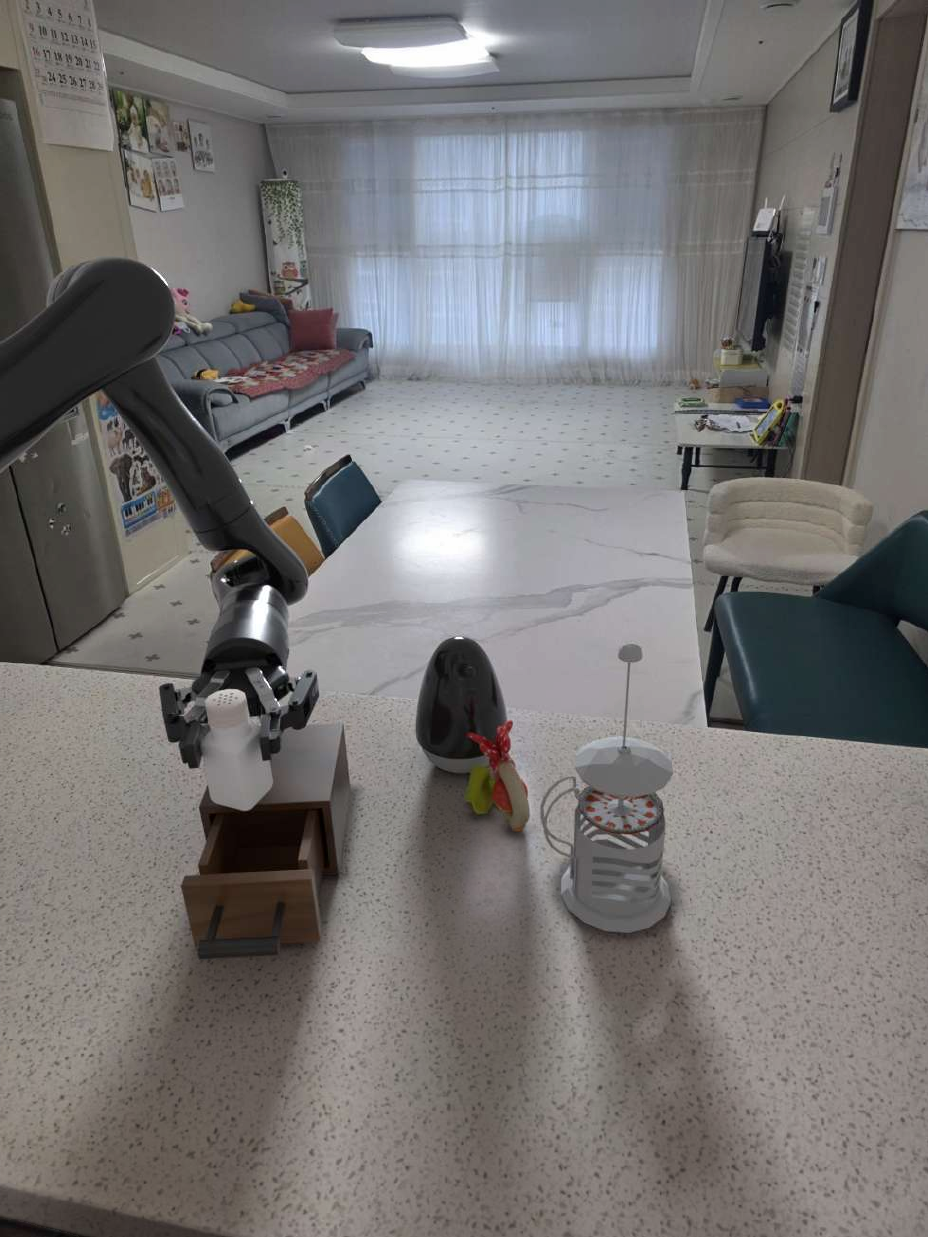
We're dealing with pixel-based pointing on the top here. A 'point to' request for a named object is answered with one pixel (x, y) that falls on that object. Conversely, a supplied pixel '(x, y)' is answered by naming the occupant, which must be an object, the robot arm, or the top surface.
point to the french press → (617, 830)
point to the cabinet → (305, 784)
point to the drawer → (257, 883)
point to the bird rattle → (498, 780)
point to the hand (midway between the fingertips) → (229, 754)
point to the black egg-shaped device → (458, 705)
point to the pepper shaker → (233, 753)
